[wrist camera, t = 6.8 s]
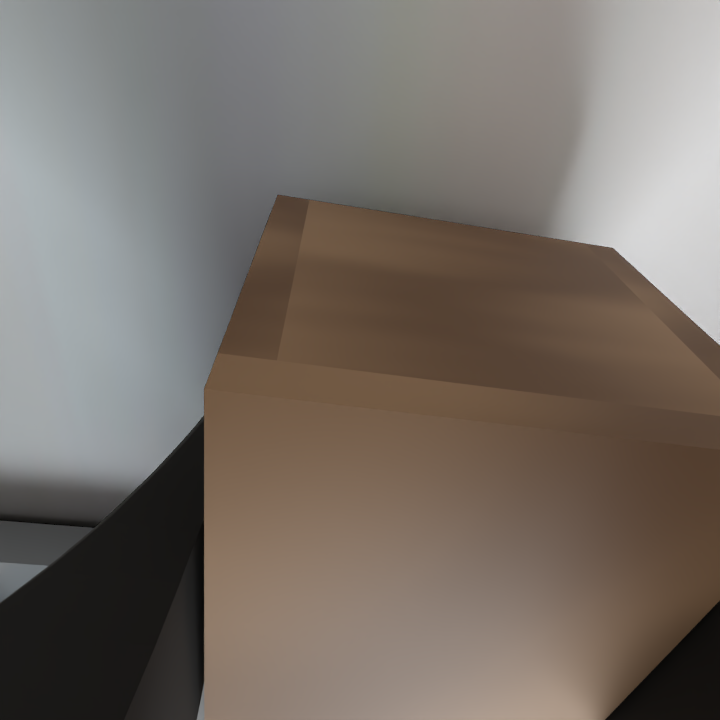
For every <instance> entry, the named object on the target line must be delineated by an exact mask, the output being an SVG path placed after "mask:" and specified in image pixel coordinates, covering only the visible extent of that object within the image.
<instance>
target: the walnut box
mask: <svg viewBox="0 0 720 720" xmlns="http://www.w3.org/2000/svg"><path fill="white" fill-rule="evenodd" d="M719 601H720V346H719V345H718V344H717V343H716V342H715V341H714V340H713V339H712V338H711V337H710V336H708V335H707V334H706V333H705V332H704V331H703V330H702V329H701V328H700V327H699V326H698V325H696V324H695V323H694V322H693V321H692V320H691V319H690V318H689V317H688V316H687V315H685V314H684V313H683V312H682V311H681V310H680V309H679V308H678V307H677V306H676V305H675V304H673V303H672V302H671V301H670V300H669V299H668V298H667V297H666V296H665V295H664V294H663V293H661V292H660V291H659V290H658V289H657V288H656V287H655V286H654V285H653V284H652V283H650V282H649V281H648V280H647V279H646V278H645V277H644V276H643V275H642V274H641V273H640V272H638V271H637V270H636V269H635V268H634V267H633V266H632V265H631V264H630V263H629V262H627V261H626V260H625V259H624V258H623V257H622V256H621V255H620V254H619V253H618V252H617V251H615V250H614V249H613V248H609V247H603V246H597V245H590V244H584V243H578V242H572V241H565V240H559V239H553V238H546V237H540V236H534V235H528V234H521V233H515V232H509V231H502V230H496V229H490V228H484V227H477V226H471V225H465V224H459V223H452V222H446V221H440V220H433V219H427V218H421V217H415V216H408V215H402V214H396V213H389V212H383V211H377V210H371V209H364V208H358V207H352V206H345V205H339V204H333V203H327V202H320V201H314V200H308V199H301V198H295V197H289V196H283V195H277V198H276V200H275V203H274V206H273V208H272V211H271V213H270V216H269V219H268V221H267V224H266V227H265V229H264V232H263V235H262V237H261V240H260V243H259V245H258V248H257V250H256V253H255V256H254V258H253V261H252V264H251V266H250V269H249V272H248V274H247V277H246V280H245V282H244V285H243V287H242V290H241V293H240V295H239V298H238V301H237V303H236V306H235V309H234V311H233V314H232V317H231V319H230V322H229V324H228V327H227V330H226V332H225V335H224V338H223V340H222V343H221V346H220V348H219V351H218V354H217V356H216V359H215V361H214V364H213V367H212V369H211V372H210V375H209V377H208V380H207V383H206V385H205V388H204V720H605V719H606V718H607V717H608V716H609V715H610V714H611V713H612V712H613V711H614V710H615V709H616V708H617V707H618V706H619V705H620V704H621V703H622V701H623V700H624V699H625V698H626V697H627V696H628V695H629V694H630V693H631V692H632V691H633V690H634V689H635V688H636V687H637V686H638V685H639V684H640V683H641V682H642V681H643V680H644V679H645V678H646V677H647V676H648V674H649V673H650V672H651V671H652V670H653V669H654V668H655V667H656V666H657V665H658V664H659V663H660V662H661V661H662V660H663V659H664V658H665V657H666V656H667V655H668V654H669V653H670V652H671V651H672V650H673V649H674V647H675V646H676V645H677V644H678V643H679V642H680V641H681V640H682V639H683V638H684V637H685V636H686V635H687V634H688V633H689V632H690V631H691V630H692V629H693V628H694V627H695V626H696V625H697V624H698V623H699V622H700V621H701V619H702V618H703V617H704V616H705V615H706V614H707V613H708V612H709V611H710V610H711V609H712V608H713V607H714V606H715V605H716V604H717V603H718V602H719Z"/></svg>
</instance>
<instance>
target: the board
mask: <svg viewBox="0 0 720 720" xmlns="http://www.w3.org/2000/svg"><path fill="white" fill-rule="evenodd" d="M92 529H94V528H88V527H75V526H62V525H50V524H37V523H24V522H11V521H0V602H2V601H3V600H4V599H6V598H7V597H8V596H10V595H11V594H12V593H14V592H15V591H16V590H18V589H19V588H20V587H21V586H23V585H24V584H25V583H27V582H28V581H29V580H31V579H32V578H33V577H35V576H36V575H37V574H39V573H40V572H41V571H42V570H44V569H45V568H46V567H48V566H49V565H50V564H52V563H53V562H54V561H55V560H57V559H58V558H59V557H60V556H61V555H63V554H64V553H65V552H66V551H67V550H69V549H70V548H71V547H72V546H74V545H75V544H76V543H77V542H78V541H80V540H81V539H82V538H83V537H84V536H85V535H87V534H88V533H89V532H90V531H91V530H92ZM197 720H204V686H203V691H202V696H201V701H200V706H199V711H198V716H197Z"/></svg>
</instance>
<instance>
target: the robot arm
mask: <svg viewBox="0 0 720 720" xmlns="http://www.w3.org/2000/svg"><path fill="white" fill-rule="evenodd" d="M203 686H204V416H203V417H202V419H201V420H200V421H199V422H198V423H197V425H196V426H195V427H194V428H193V429H192V430H191V432H190V433H189V434H188V435H187V436H186V437H185V439H184V440H183V441H182V442H181V443H180V444H179V445H178V446H177V447H176V448H175V449H174V451H173V452H172V453H171V454H170V455H169V456H168V457H167V458H166V459H165V460H164V461H163V462H162V463H161V465H160V466H159V467H158V468H157V469H156V470H155V471H154V472H153V473H152V474H151V475H150V476H149V477H148V478H147V479H146V480H145V481H144V482H143V483H142V484H141V485H140V486H139V487H138V488H137V489H136V490H135V491H133V492H132V493H131V494H130V495H129V496H128V497H127V498H126V499H125V500H124V501H123V502H122V503H121V504H120V505H119V506H118V507H117V508H116V509H115V510H114V511H113V512H112V513H110V514H109V515H108V516H107V517H106V518H105V519H104V520H103V521H101V522H100V523H99V524H98V525H97V526H96V527H95V528H94V529H92V530H91V531H90V532H89V533H88V534H87V535H85V536H84V537H83V538H82V539H81V540H80V541H78V542H77V543H76V544H75V545H74V546H72V547H71V548H70V549H69V550H67V551H66V552H65V553H64V554H63V555H61V556H60V557H59V558H58V559H57V560H55V561H54V562H53V563H52V564H50V565H49V566H48V567H46V568H45V569H44V570H42V571H41V572H40V573H39V574H37V575H36V576H35V577H33V578H32V579H31V580H29V581H28V582H27V583H25V584H24V585H23V586H21V587H20V588H19V589H18V590H16V591H15V592H14V593H12V594H11V595H10V596H8V597H7V598H6V599H4V600H3V601H2V602H0V720H197V716H198V711H199V706H200V701H201V696H202V691H203ZM605 720H720V601H719V602H718V603H717V604H716V605H715V606H714V607H713V608H712V609H711V610H710V611H709V612H708V613H707V614H706V615H705V616H704V617H703V618H702V619H701V621H700V622H699V623H698V624H697V625H696V626H695V627H694V628H693V629H692V630H691V631H690V632H689V633H688V634H687V635H686V636H685V637H684V638H683V639H682V640H681V641H680V642H679V643H678V644H677V645H676V646H675V647H674V649H673V650H672V651H671V652H670V653H669V654H668V655H667V656H666V657H665V658H664V659H663V660H662V661H661V662H660V663H659V664H658V665H657V666H656V667H655V668H654V669H653V670H652V671H651V672H650V673H649V674H648V676H647V677H646V678H645V679H644V680H643V681H642V682H641V683H640V684H639V685H638V686H637V687H636V688H635V689H634V690H633V691H632V692H631V693H630V694H629V695H628V696H627V697H626V698H625V699H624V700H623V701H622V703H621V704H620V705H619V706H618V707H617V708H616V709H615V710H614V711H613V712H612V713H611V714H610V715H609V716H608V717H607V718H606V719H605Z"/></svg>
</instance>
